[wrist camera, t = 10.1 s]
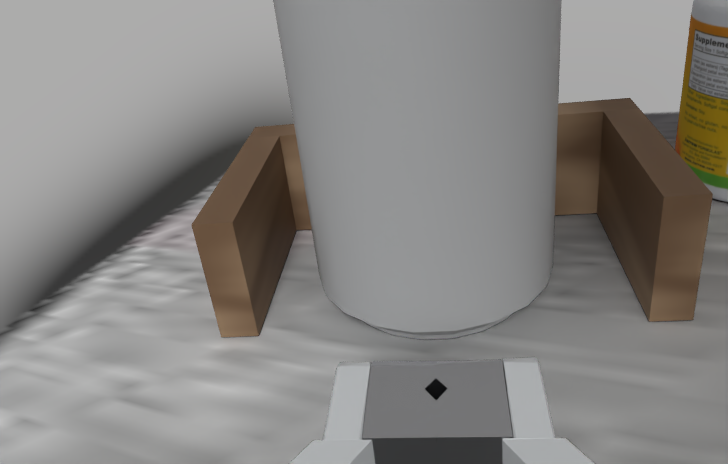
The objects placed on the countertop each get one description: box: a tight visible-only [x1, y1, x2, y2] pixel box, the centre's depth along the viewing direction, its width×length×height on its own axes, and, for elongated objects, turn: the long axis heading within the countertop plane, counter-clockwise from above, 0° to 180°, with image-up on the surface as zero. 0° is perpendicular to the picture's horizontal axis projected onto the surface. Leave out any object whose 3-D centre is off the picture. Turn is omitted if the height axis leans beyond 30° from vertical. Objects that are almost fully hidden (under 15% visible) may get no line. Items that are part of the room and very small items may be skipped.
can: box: [273, 0, 561, 340], centre depth 19 cm, size 8×8×12 cm
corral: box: [192, 98, 713, 337], centre depth 22 cm, size 14×8×4 cm, turn 85°
